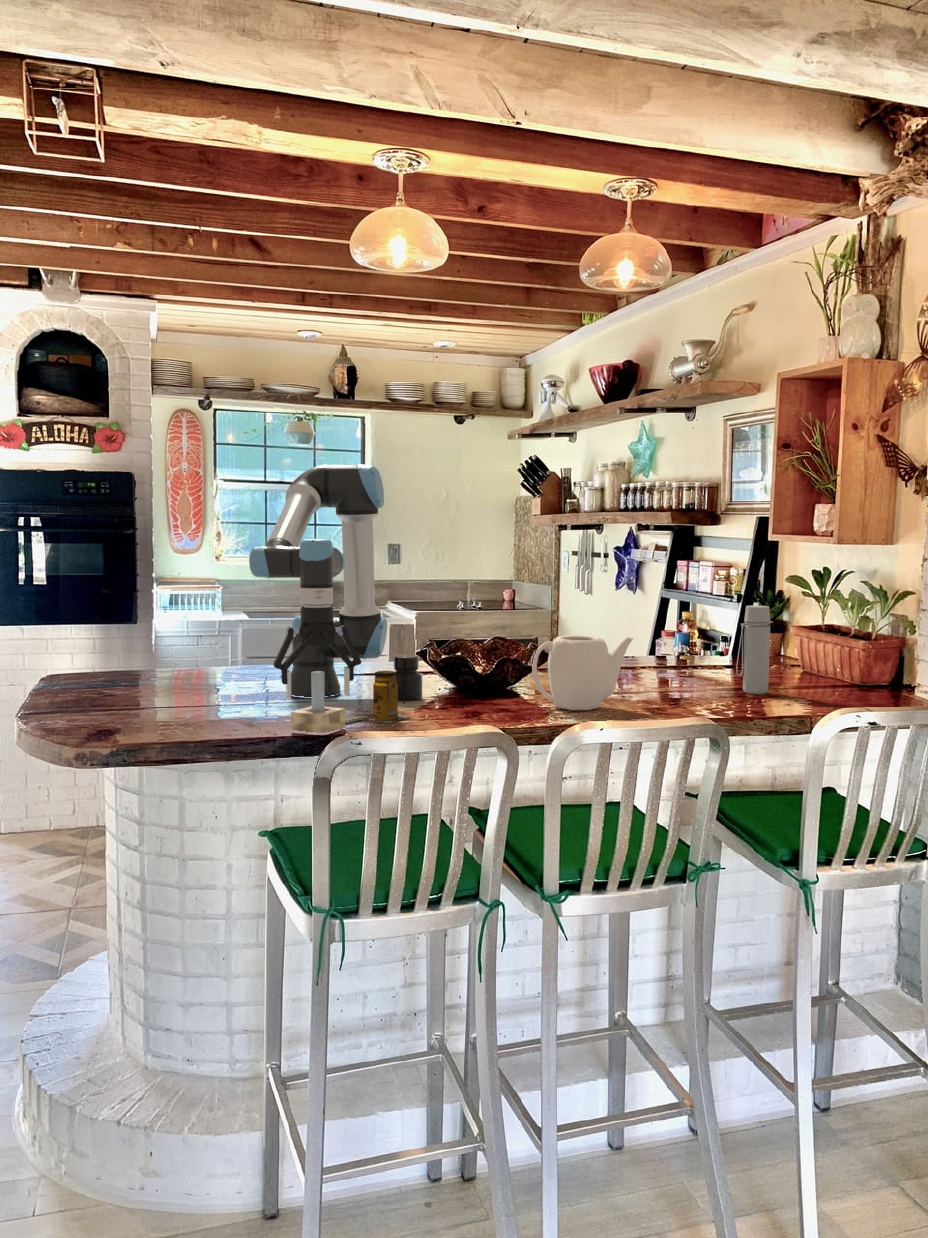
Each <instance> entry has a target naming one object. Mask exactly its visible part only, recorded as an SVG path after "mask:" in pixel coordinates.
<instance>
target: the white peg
mask: <svg viewBox="0 0 928 1238" xmlns="http://www.w3.org/2000/svg"><path fill="white" fill-rule="evenodd" d="M311 691H312V698H311V706H312V712H319V713H321V712H325V707H326V705H325V701H326V700H325V699H326V698H325V692H324V672H323V671H314V672H311Z"/></svg>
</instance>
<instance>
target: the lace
mask: <svg viewBox="0 0 928 1238" xmlns="http://www.w3.org/2000/svg"><path fill="white" fill-rule="evenodd" d="M363 719H365V720H367V716H366V715H359V716H357V717H356V716H355V717H351V718H347V719H345V723H347V722H353V721H357V720H361V721H364V720H363ZM357 722H358V721H357ZM353 723H354V722H353Z"/></svg>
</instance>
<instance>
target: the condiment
mask: <svg viewBox="0 0 928 1238" xmlns="http://www.w3.org/2000/svg"><path fill="white" fill-rule="evenodd" d="M372 688H373V689H372V690H373V693H372V695H373V696H372V697H373V705H372V706H373V709H372V710H373V717H372V718H373V719H371V718H368V720H370V721H373V722H379V723H386V724H387V723H393V722H397V721H401V720H404V719H405V720H406V719H409V716H402V715H399V705H398V704H399V703H398V702H399V701H398V684H397V682H396V673H395V671H393V670H378V671H375V672H374V682H373V686H372Z"/></svg>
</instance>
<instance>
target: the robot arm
mask: <svg viewBox="0 0 928 1238" xmlns="http://www.w3.org/2000/svg"><path fill="white" fill-rule="evenodd" d="M384 492H385V491H384V485H383V480H382V477H381V474H380V471H379V469H378V468H377V467H376V466H375V465H370V464H363V463H362V464H361V463H359V464H321V465H317V466H313V467H311V468H309V469H307V470H305V471H304V472H302V473H301V474H300V475H299V476H297V477H296V478H295V479H294V480H293V481H292V482H291V483H290V485H289V487H288V488H287V490H286V492H285V497H284V498H285V504H284V506H283V508H282V510H281V513H280V515H279V517H278V519H277V521H276V523H275V525H274V527H273V529H272V531H271V533H270V536H269V537H268V540H267V542H266V543H265V545H260V546H254V547H252V548H251V550H250V552H249V556H248V557H249V559H248V562H249V563H248V564H249V570H250V572H251V574H252V575H253V577H256V578H267V579H271V578H272V579H273V578H275V579H276V578H277V579H278V578H280V579H282V578H285V579H288V578H291V579H293V578H294V579H296V578H297V579H299V582H300V585H299V587H300V588H299V589H300V594H299V595H300V601H299V603H300V605H301V606H302V607H301V608H300V615H297V616H296V617H294V618H293V620H292V623H291V624H292V627H291V626H288V627H287V628H286V633H285V634H286V636H285V638H284V640H283V643H282V645H281V647H280V648H279V651H278V653H277V655H276V657H275V660H274V662H273V664H272V665H273V667H274V668H275V669H277V670H280V671H281V684H282V685H285V690H286V691H285V692H286V694H285V695H286V698H287V700H292V697H291V695H295V696H304V697H312V691H311V672H314V671H323V672H324V692H325V696H331V695H336V694H339V693H340V694H341V684H340V682H339V678H338V675H337V671H336V670H335V659H341V660H342V661H343V662H344V664H346V666H344V667H343V689H344V691H343V693H344V695H345V696H346V697H350V696H351V695H350V691H351V690H350V689H351V688H350V687H351V686H350V685H351V684H350V682H354V680H355V679H354V678H355V675H354V672H355V667H357V666H360V665H362V660H361V659H363V660H367V659H378V658H379V657H381V655H382V654H383V652H384V649H385V645H386V641H387V640H386V639H387V633H388V619H387V618H386V617H384V616H382V612H381V609H380V608H379V607H378V606H377V605H376V588H375V586H376V585H375V557H374V555H375V550H374V519H375V518H376V517H377V516H378V515H379V509H381V508H383V507H384V504H385V493H384ZM322 508H330V509H331V508H335V515H336V516H337V518H339V519H340V521H341V537H342V538H341V539H342V540H341V543H342V551H341V550H340V549H339V548H337V547H334V546H333V542H332V540H331V539H326V538H321V539H320V538H317V539H316V538H315V539H314V538H312V539H311V538H310V539H309V538H306V539H304V538H303V537H304V535H305V532H306V530H307V528H308V525H309V523H310V521H311V519H312V516H313V515H314V514H316V513H317V512H318V511H319V509H322ZM341 572H343V573H342V574H343V598H344V599H343V600H344V601H343V602H344V603H343V604H344V605H343V607H342V608H341V609H340V610H339V612H338V613H339V616H338V617H337V616H335V614H334V608H333V606H332V605H334V584H333V583H334V580H333V579H334V578H335V577H337V576H338V575H339V574H340V573H341ZM291 644H292V645H291ZM290 646H291V647H292V648H291V650H292V652H291V653H290V654H289V655H288V657H287V658H286V659H285V656H286V654H287V652H288V650H289V648H290ZM284 659H285V660H284ZM351 659H352V660H351ZM283 660H284V662H283ZM282 662H283V663H282ZM291 666H292V669H291V670H290V669H289V668H290V667H291ZM340 694H339V695H340Z"/></svg>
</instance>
